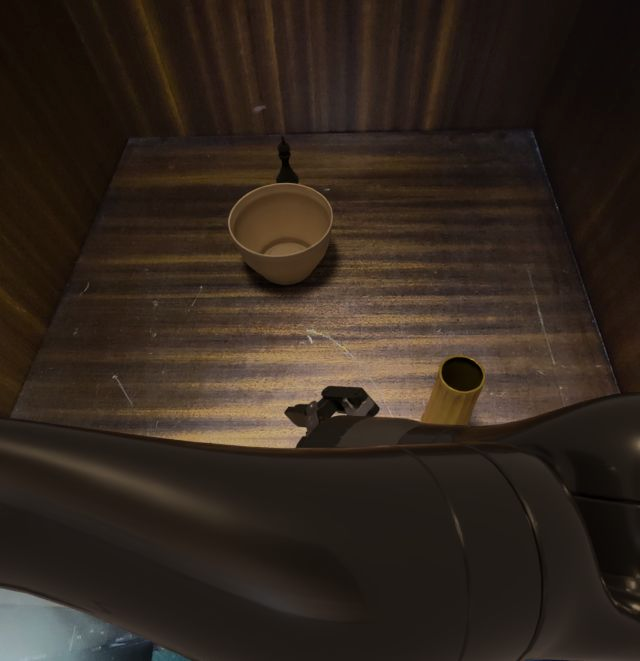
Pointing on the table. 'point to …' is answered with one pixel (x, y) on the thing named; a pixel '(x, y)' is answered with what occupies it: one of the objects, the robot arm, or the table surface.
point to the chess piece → (285, 165)
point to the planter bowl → (282, 230)
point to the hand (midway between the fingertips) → (265, 451)
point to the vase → (455, 391)
